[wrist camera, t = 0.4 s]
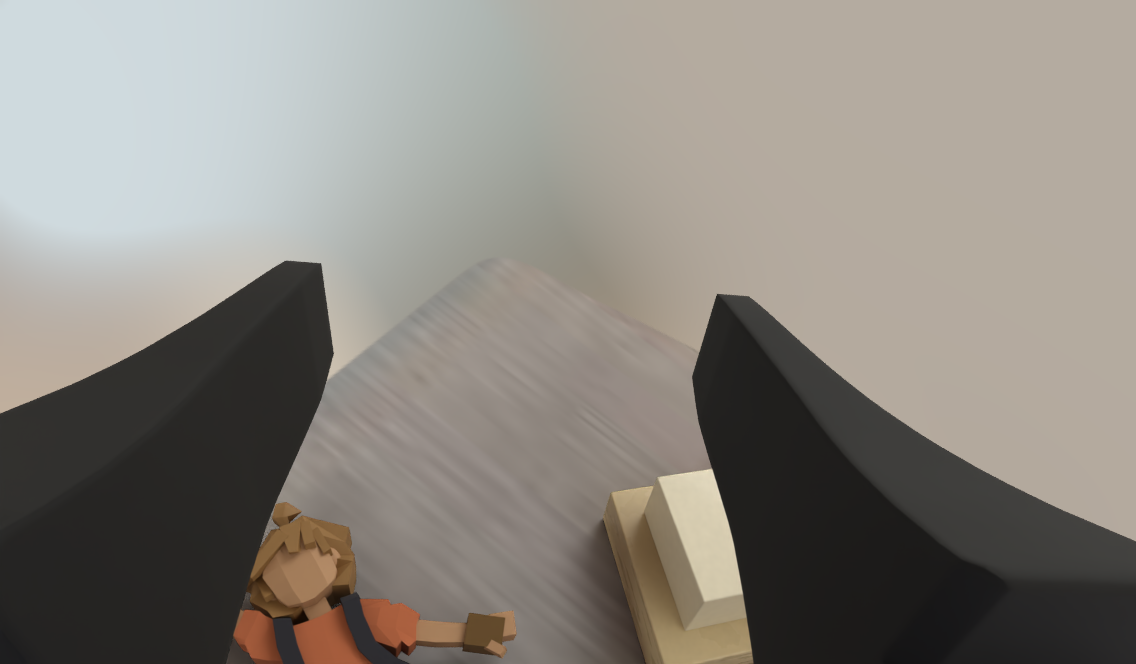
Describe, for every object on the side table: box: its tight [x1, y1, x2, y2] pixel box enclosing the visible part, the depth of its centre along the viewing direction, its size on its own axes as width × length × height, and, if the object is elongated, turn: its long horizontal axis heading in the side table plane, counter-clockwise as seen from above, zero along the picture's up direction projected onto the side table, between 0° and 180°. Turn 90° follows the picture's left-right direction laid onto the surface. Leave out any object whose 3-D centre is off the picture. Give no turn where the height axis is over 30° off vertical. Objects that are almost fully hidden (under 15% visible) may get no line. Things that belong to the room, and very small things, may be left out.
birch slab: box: [603, 486, 753, 664], centre depth 30 cm, size 8×8×2 cm
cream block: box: [644, 469, 747, 631], centre depth 28 cm, size 6×6×3 cm
